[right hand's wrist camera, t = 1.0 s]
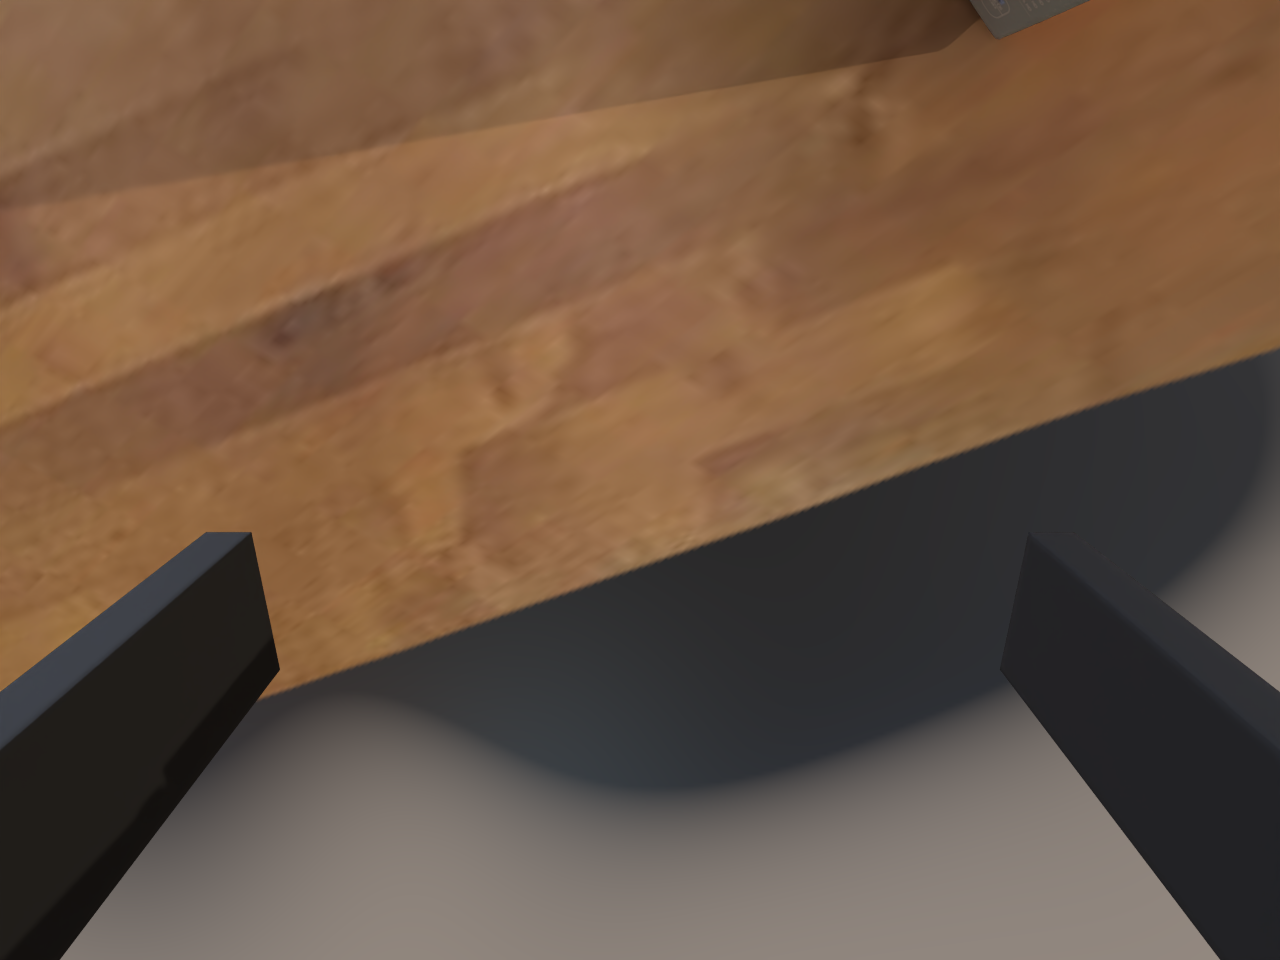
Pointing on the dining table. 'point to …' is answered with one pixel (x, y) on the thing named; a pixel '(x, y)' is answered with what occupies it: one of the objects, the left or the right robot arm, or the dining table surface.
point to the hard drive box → (1018, 13)
